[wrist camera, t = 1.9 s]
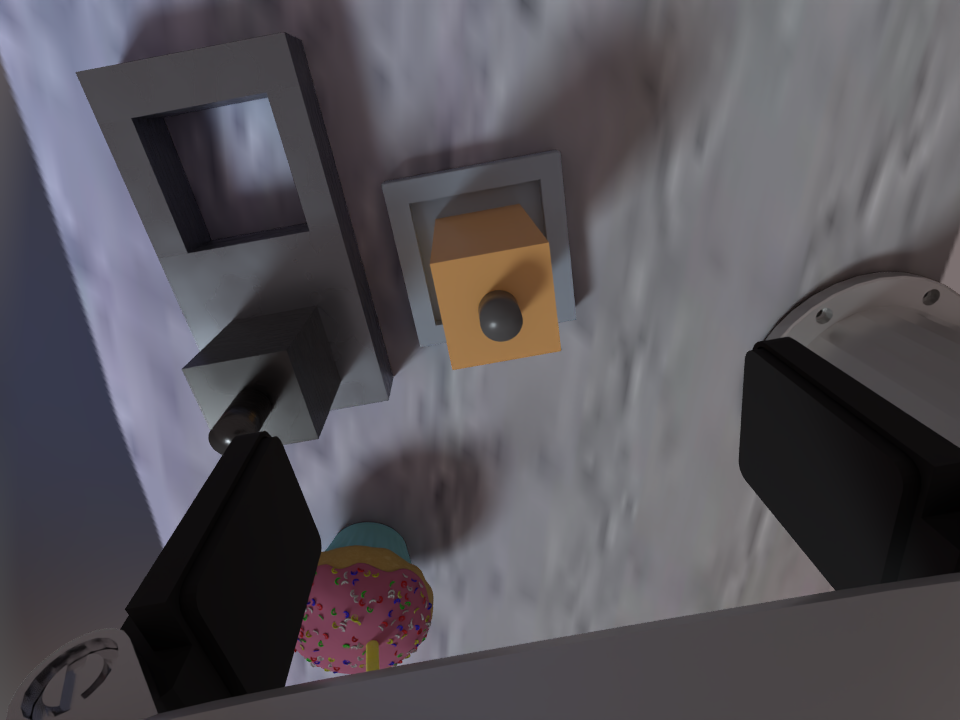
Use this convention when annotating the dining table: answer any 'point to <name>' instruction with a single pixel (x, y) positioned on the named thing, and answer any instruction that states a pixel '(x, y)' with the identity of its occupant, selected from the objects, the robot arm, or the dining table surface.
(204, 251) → the grey socket base
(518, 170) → the tray
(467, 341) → the plug
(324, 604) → the cupcake
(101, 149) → the dining table surface
